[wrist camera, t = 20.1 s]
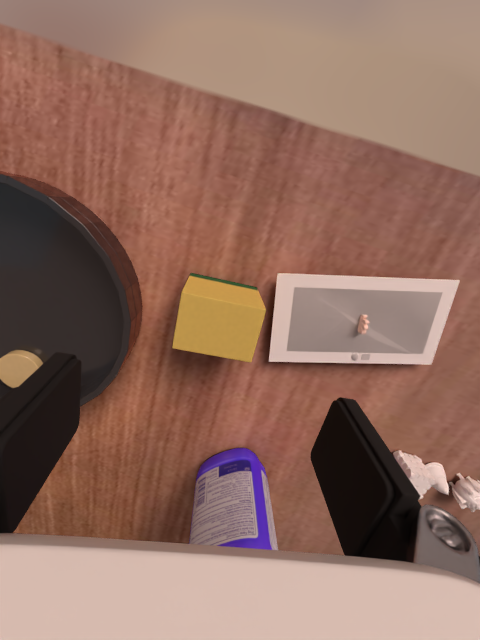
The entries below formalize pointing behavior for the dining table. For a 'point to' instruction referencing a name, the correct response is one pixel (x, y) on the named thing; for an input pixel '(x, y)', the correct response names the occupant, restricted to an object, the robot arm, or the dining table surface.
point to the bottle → (233, 503)
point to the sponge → (219, 318)
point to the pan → (64, 283)
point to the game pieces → (439, 480)
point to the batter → (18, 367)
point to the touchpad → (358, 319)
